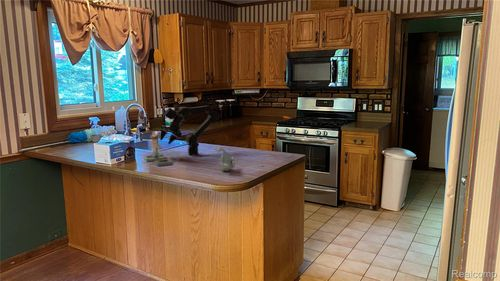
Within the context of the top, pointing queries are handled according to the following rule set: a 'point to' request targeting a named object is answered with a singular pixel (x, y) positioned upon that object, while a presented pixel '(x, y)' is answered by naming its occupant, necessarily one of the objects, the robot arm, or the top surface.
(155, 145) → the pin
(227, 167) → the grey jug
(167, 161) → the receiver socket
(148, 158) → the tray
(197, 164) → the top surface
